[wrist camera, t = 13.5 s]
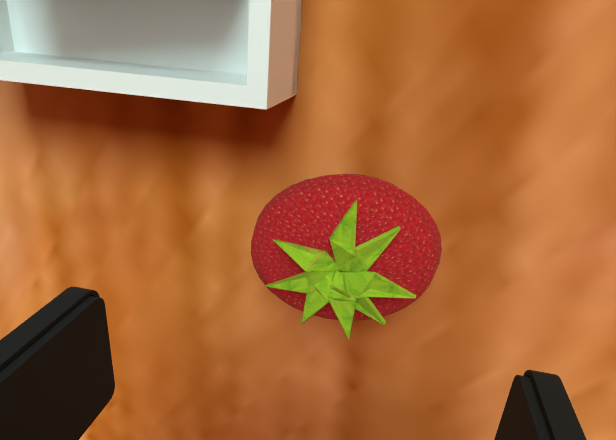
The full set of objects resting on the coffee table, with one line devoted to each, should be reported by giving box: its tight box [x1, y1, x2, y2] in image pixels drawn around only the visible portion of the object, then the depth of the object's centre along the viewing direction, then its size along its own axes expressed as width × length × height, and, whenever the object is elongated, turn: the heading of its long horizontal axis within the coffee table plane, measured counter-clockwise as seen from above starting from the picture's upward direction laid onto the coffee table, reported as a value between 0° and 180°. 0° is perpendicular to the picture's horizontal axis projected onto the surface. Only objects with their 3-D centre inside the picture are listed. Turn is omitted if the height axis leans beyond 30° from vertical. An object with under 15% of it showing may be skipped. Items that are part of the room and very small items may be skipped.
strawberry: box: [251, 174, 442, 339], centre depth 19 cm, size 6×8×10 cm
